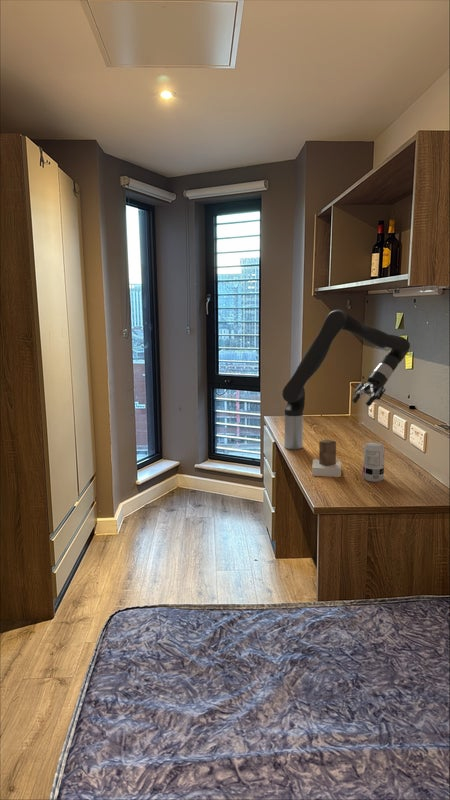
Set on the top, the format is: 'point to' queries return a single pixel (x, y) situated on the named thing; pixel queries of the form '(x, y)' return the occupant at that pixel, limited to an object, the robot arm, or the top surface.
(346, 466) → the top surface
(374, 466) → the supplement can
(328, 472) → the base block
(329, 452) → the walnut block
